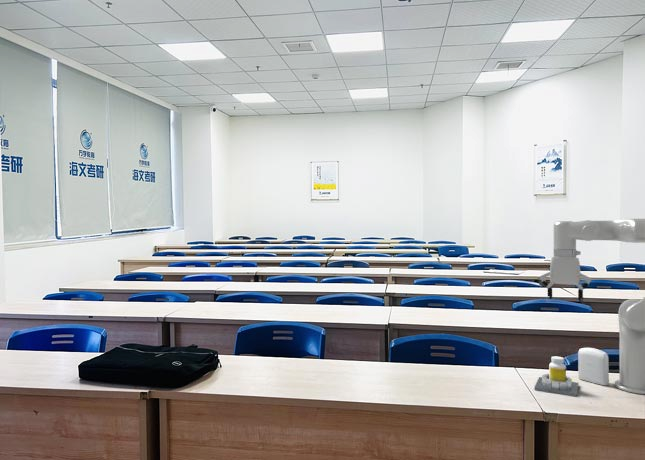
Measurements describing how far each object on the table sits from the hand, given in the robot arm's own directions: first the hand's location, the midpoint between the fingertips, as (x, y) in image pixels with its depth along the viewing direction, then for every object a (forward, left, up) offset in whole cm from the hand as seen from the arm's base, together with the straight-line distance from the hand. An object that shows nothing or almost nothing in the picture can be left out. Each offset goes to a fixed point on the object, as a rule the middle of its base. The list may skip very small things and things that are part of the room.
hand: (565, 299), depth 176 cm
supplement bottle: (+2, +11, -30) cm, 32 cm away
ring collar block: (+2, +11, -30) cm, 32 cm away
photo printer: (-9, -3, -31) cm, 32 cm away
